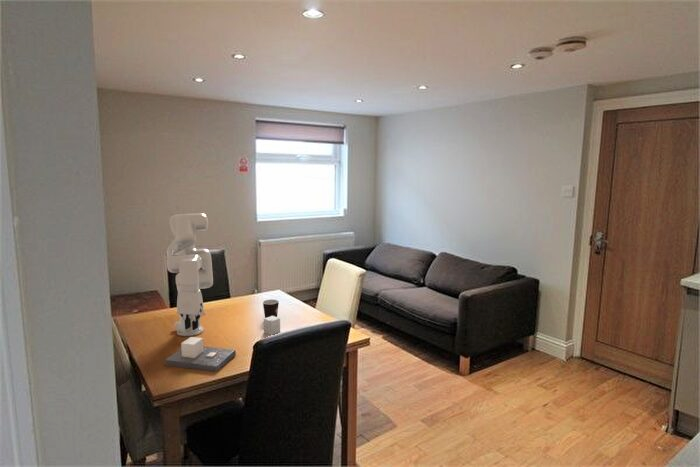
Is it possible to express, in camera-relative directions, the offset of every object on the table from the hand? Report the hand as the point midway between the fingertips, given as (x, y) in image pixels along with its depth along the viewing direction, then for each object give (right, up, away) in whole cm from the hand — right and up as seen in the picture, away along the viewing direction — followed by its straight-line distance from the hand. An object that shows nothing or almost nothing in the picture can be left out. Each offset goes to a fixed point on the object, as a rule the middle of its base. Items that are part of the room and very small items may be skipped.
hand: (191, 328), depth 181 cm
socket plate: (+4, -14, +1) cm, 15 cm away
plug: (0, -14, +2) cm, 14 cm away
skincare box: (+28, -10, +33) cm, 45 cm away
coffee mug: (+26, -7, +52) cm, 59 cm away
